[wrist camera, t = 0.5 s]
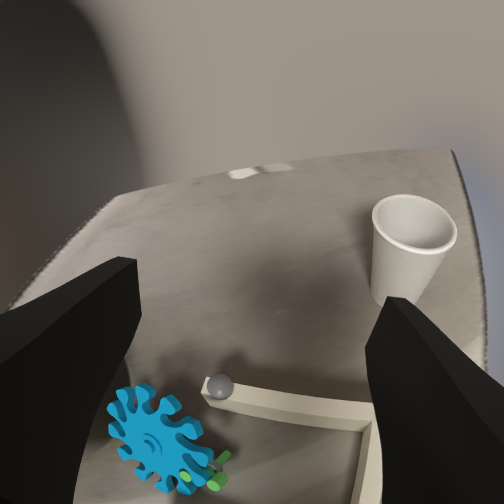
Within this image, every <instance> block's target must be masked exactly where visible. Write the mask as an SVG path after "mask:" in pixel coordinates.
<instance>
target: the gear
mask: <svg viewBox="0 0 504 504" xmlns="http://www.w3.org/2000/svg"><path fill="white" fill-rule="evenodd" d="M116 393H117V396H118V398H119V400H117V401H114V402H112V403H110V404H109V405H108V407H107V410H108V412H109V413H110V414H111V415H112V416H113V417H115V418H116V419H117V420H118V421H115V422H112V423H110V424H109V434H110V435H111V436H112V437H115V438H119V439H121V440H122V441H124V442H125V443H126V444H127V445H126V444H125V445H123V446H121V447H119V448H117V449H118V452H119V455H120V457H121V458H122V459H123V460H125V461H126V460H128V459H136V460H138V461H140V462H142V463H143V464H144V465H141V466H139V467H137V468H136V469H135V470H134V472H135V473H136V474H137V476H138V477H139V478H140V479H141V480H142V481H145V480H147V479H148V478H149V477H151V476H152V472H157V473H158V474H159V475H160V476H161V478H162V479H161V480H159V481H158V482H157V483H156V487H157V488H158V489H159V490H161V491H162V492H164V493H166V494H168V493H169V492H170V491H172V490H173V489H174V484H173V482H172V475H173V476H175V477H176V478H177V480H178V485H177V491H178V492H179V493H180V494H183V495H191V494H193V493H194V492H195V491H196V486H198V487H200V486H203V485H204V484H205V483H206V482H207V481H208V480H209V481H208V482H207V486H208V487H209V488H210V489H211V490H213V491H219V490H220V489H221V487H222V486H223V485H224V484H225V483H226V482H227V481H228V477H227V475H226V474H225V473H223V468H222V465H223V464H224V463H225V462H226V461H227V460H228V459H229V458H230V457H231V456H232V454H231V452H230V451H228V450H225V451H224V452H223V453H222V454H221V455H220V456H219V457H218V458H217V459H215V460H214V459H213V457H214V451H213V450H212V449H210V448H208V447H200V446H197V445H194V444H192V443H191V442H189V441H188V440H187V439H185V438H184V437H183V435H185V436H186V437H187V438H189V439H192V440H195V439H197V438H199V437H200V436H201V435H202V434H203V428H202V426H201V423H200V421H199V420H198V419H193V418H192V417H191V416H186V417H184V418H183V419H181V420H179V421H178V422H176V423H175V422H172V421H171V420H169V418H168V416H167V414H168V415H172V414H174V413H176V412H177V411H179V410H181V408H182V405H181V403H180V402H179V400H178V399H177V398H176V397H175V396H174V395H173V394H170V395H168V396H166V397H164V398H162V399H161V401H160V406H159V409H158V410H157V411H154V410H153V409H151V407H150V405H149V400H150V399H152V398H154V397H155V396H156V389H155V388H154V387H152V386H151V385H149V384H147V383H142V384H140V385H137V386H136V394H137V398H138V408H136V407H135V405H134V399H135V391H134V389H133V388H132V387H125V388H122V389H119V390H117V391H116ZM124 409H125V411H124ZM125 412H126V414H125ZM182 434H183V435H182ZM191 480H192V481H191ZM194 484H195V485H196V486H195V485H194Z"/></svg>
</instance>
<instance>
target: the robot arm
mask: <svg viewBox="0 0 504 504" xmlns="http://www.w3.org/2000/svg"><path fill="white" fill-rule="evenodd" d="M141 316H142V312H141V303H140V293H139V282H138V270H137V259H131V258H125V257H120V256H118V257H115V258H113V259H110V260H108V261H106V262H104V263H102V264H100V265H98V266H97V267H95V268H93V269H91V270H89V271H87V272H85V273H84V274H82V275H80V276H78V277H76V278H74V279H73V280H71V281H69V282H67V283H65V284H63V285H62V286H60V287H58V288H56V289H54V290H52V291H50V292H48V293H46V294H44V295H42V296H40V297H38V298H36V299H34V300H32V301H30V302H28V303H26V304H24V305H22V306H20V307H17V308H15V309H13V310H10V311H8V312H5V313H3V314H1V315H0V504H73V498H74V491H75V486H76V481H77V477H78V472H79V468H80V463H81V460H82V455H83V452H84V449H85V445H86V442H87V438H88V435H89V432H90V429H91V426H92V423H93V420H94V417H95V414H96V412H97V409H98V407H99V405H100V403H101V400H102V398H103V396H104V394H105V392H106V391H107V389H108V387H109V385H110V383H111V381H112V379H113V377H114V375H115V373H116V371H117V369H118V367H119V365H120V364H121V362H122V360H123V358H124V356H125V354H126V352H127V350H128V348H129V347H130V345H131V343H132V340H133V337H134V335H135V332H136V330H137V327H138V324H139V321H140V319H141ZM365 354H366V367H367V377H368V382H369V387H370V392H371V396H372V401H373V406H374V411H375V416H376V421H377V426H378V431H379V436H380V443H381V451H382V504H504V387H503V386H501V385H500V384H499V383H498V382H497V381H495V380H494V379H492V377H490V376H489V375H488V374H487V373H486V372H484V371H483V370H482V369H481V368H480V367H479V366H478V365H477V364H475V363H474V362H473V361H472V360H471V359H470V358H469V357H468V356H467V355H466V354H465V353H463V352H462V351H461V350H460V349H459V348H458V347H457V346H456V345H455V344H454V343H453V342H452V341H451V340H450V339H449V338H448V337H447V336H446V335H445V334H444V333H443V332H442V331H441V330H440V329H439V328H438V327H437V326H436V325H435V324H434V323H433V322H432V321H431V320H430V319H429V318H428V317H427V316H425V315H424V314H423V313H422V312H421V311H420V310H419V309H418V308H417V307H416V306H415V305H413V304H412V303H411V302H410V301H408V300H407V299H406V298H400V297H392V296H387V298H386V300H385V303H384V305H383V308H382V310H381V312H380V315H379V317H378V319H377V322H376V324H375V326H374V328H373V331H372V333H371V335H370V337H369V340H368V342H367V344H366V346H365Z"/></svg>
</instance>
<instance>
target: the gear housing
mask: <svg viewBox="0 0 504 504" xmlns="http://www.w3.org/2000/svg"><path fill="white" fill-rule="evenodd" d="M201 394H202V395H203V397H204V398H205V400H206V401H207V402H208V404H209V405H210V406H211V407H215V408H219V409H223V410H227V411H231V412H236V413H240V414H245V415H249V416H254V417H259V418H264V419H270V420H275V421H281V422H287V423H293V424H299V425H306V426H313V427H321V428H329V429H338V430H349V431H360V432H363V437H362V444H361V450H360V456H359V462H358V468H357V473H356V478H355V484H354V489H353V493H352V498H351V503H350V504H379V503H380V498H381V493H382V451H381V443H380V436H379V431H378V426H377V421H376V416H375V411H374V406H373V403H367V402H356V401H345V400H336V399H327V398H319V397H312V396H305V395H298V394H291V393H285V392H279V391H273V390H267V389H262V388H257V387H251V386H246V385H241V384H236V383H232V381H231V379H230V378H229V377H228V376H227V375H224V374H216V375H213V376H212V377H206V380H205V382H204V385H203V388H202V391H201Z"/></svg>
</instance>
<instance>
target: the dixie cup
mask: <svg viewBox="0 0 504 504" xmlns="http://www.w3.org/2000/svg"><path fill="white" fill-rule="evenodd" d="M372 221H373V224H374V233H373V258H372V275H371V294H372V297H373V298H374V300H375V301H376V302H377V303H378V304H379V305H380V306H382V307H383V305H384V303H385V300H386V298H387V296H392V297H400V298H406V299H407V300H408V301H410V302H411V303H412V304H413V305H414V304H415V303H416V302H417V300H418V299H419V297H420V295H421V294H422V292H423V291H424V289H425V288H426V286H427V284H428V283H429V281H430V280H431V278H432V276H433V275H434V273H435V271H436V270H437V268H438V266H439V265H440V263H441V261H442V260H443V258H444V256H445V254H446V253H447V251H448V249H450V248H451V247H452V246H453V244H454V243H455V241H456V238H457V229H456V225H455V223H454V221H453V219H452V218H451V217H450V215H449V214H448V213H447V212H446V211H445V210H444V209H443V208H442V207H440V206H439V205H437V204H436V203H434V202H432V201H430V200H428V199H425V198H422V197H419V196H415V195H407V194H399V195H393V196H389V197H386V198H384V199H382V200H380V201H379V202H378V203H377V204H376V205H375V207H374V209H373V211H372Z"/></svg>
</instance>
